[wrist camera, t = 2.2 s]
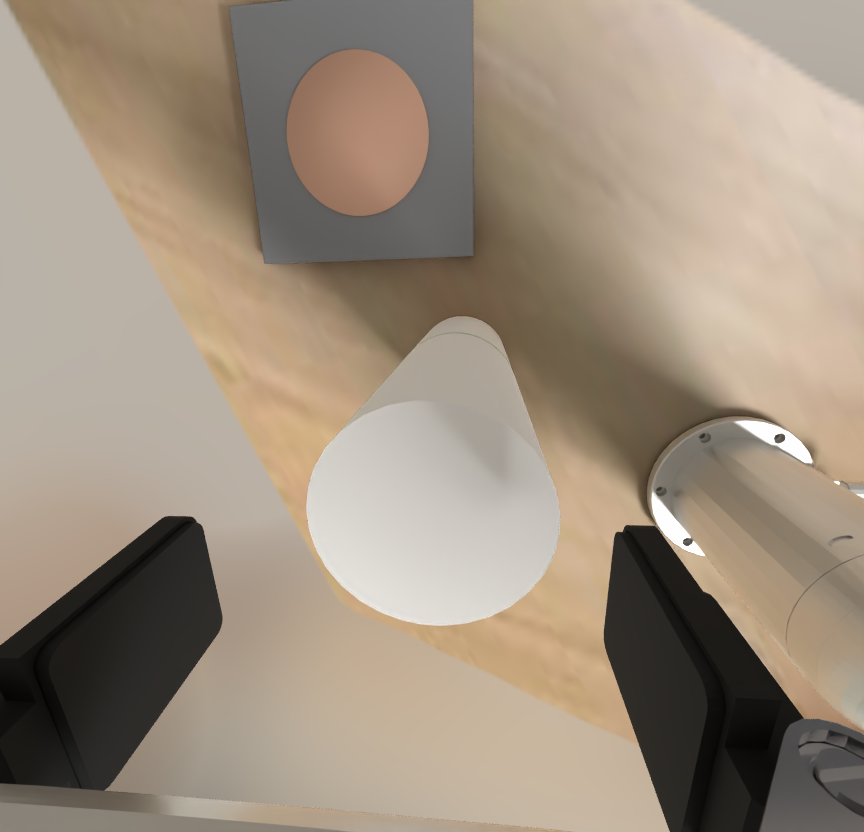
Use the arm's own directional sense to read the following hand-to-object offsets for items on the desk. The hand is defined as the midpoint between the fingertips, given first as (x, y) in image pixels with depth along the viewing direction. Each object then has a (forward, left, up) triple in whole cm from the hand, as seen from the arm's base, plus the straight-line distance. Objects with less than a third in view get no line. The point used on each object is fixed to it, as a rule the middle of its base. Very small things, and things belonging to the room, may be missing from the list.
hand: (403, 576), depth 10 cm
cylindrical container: (0, 0, -28) cm, 28 cm away
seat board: (+7, -16, -28) cm, 32 cm away
